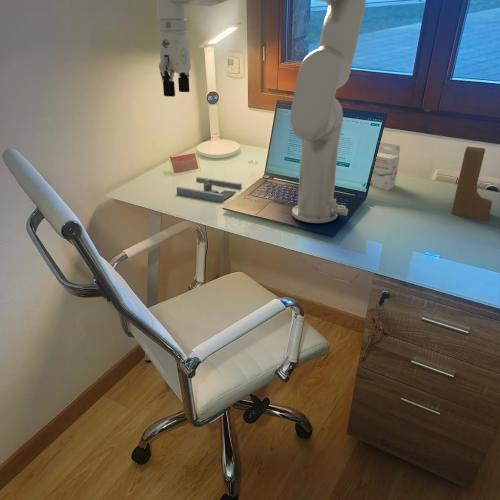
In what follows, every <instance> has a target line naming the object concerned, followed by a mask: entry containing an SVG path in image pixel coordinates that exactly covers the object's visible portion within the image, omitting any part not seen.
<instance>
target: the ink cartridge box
mask: <svg viewBox="0 0 500 500" xmlns="http://www.w3.org/2000/svg"><path fill="white" fill-rule="evenodd" d="M380 142H381V141H380ZM384 147H388V148H384ZM389 148H390V149H389ZM400 151H401V146H400V145H398V144H393V143H388V142H381V143H380V146H379V150H378V154H377V157H376V162H375V165H374V170H373V174H372V178H371V183H370V185H369V186H372V187H375V188H379V189H381V190H385V191H389V190H391V189H392V188H394V187H395V186H396V179H397V173H398V169H399V168H398V167H399V162H400Z"/></svg>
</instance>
